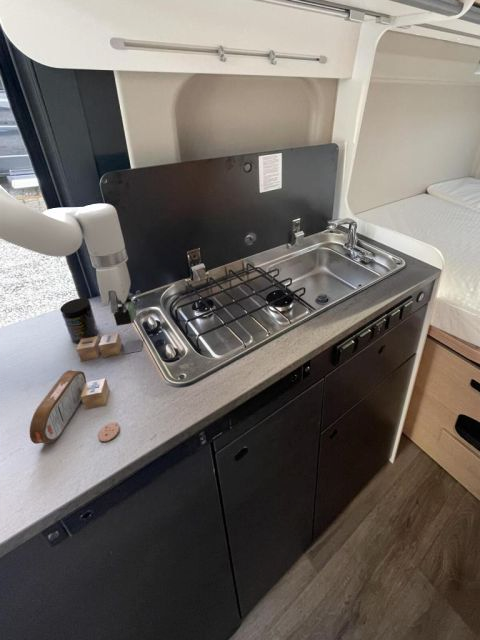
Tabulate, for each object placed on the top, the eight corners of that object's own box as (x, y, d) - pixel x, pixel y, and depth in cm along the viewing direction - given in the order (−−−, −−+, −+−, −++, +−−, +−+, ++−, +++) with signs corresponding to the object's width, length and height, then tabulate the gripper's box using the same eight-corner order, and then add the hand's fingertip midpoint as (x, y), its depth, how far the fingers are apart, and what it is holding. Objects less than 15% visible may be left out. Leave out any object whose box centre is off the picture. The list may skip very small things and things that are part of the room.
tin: (79, 388, 76) (68, 361, 73) (92, 388, 76) (83, 361, 73) (35, 453, 63) (20, 424, 59) (53, 452, 63) (39, 423, 59)
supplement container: (100, 337, 92) (90, 307, 87) (71, 347, 88) (60, 316, 84) (97, 324, 97) (88, 295, 92) (70, 333, 93) (60, 303, 89)
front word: (85, 409, 71) (80, 396, 70) (90, 394, 75) (85, 381, 73) (105, 405, 72) (101, 392, 71) (109, 390, 76) (105, 377, 74)
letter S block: (116, 325, 83) (112, 312, 81) (119, 316, 86) (116, 303, 85) (133, 323, 84) (130, 310, 82) (136, 313, 87) (132, 301, 86)
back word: (80, 362, 84) (75, 350, 82) (85, 349, 88) (81, 337, 86) (141, 351, 87) (138, 339, 86) (143, 339, 92) (140, 327, 90)
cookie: (119, 420, 69) (118, 417, 69) (120, 437, 66) (119, 433, 65) (98, 428, 67) (97, 425, 67) (98, 445, 64) (96, 442, 64)
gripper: (99, 243, 83) (116, 302, 91) (80, 276, 69) (102, 342, 77) (131, 239, 85) (145, 297, 93) (120, 271, 71) (137, 336, 79)
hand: (125, 317), depth 85 cm, fingers closed on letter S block, 4 cm apart
